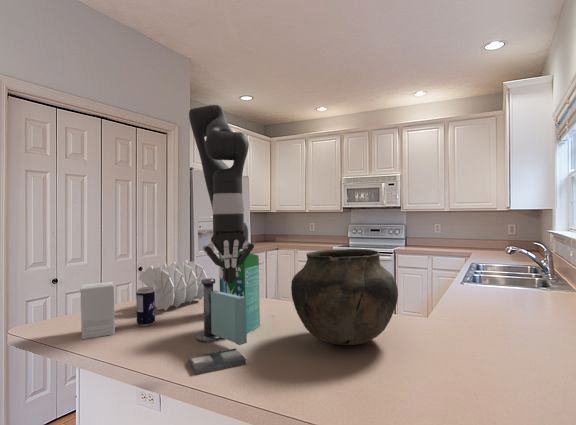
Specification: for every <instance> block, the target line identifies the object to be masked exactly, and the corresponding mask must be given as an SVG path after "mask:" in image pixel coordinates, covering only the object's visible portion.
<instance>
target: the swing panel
mask: <svg viewBox="0 0 576 425" xmlns="http://www.w3.org/2000/svg"><path fill="white" fill-rule="evenodd" d="M211 334H214V335H216V336H219V337H221V339H225V340H227V341H229V342H231V343H235V345H237V346H242V345H245V344H247V343H248V342H247V341H248V340H247V337H248V335H247V334H248V333H247V332H246V297H243V296H236V295H232V294H228V293H223V292H220V290H219V291H218V290H213V291H211Z"/></svg>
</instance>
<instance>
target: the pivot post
mask: <svg viewBox="0 0 576 425" xmlns="http://www.w3.org/2000/svg"><path fill="white" fill-rule="evenodd" d="M215 283H216V279H215V278H212V277H211V278H208V279H202V280H201V284H203V294H204V296H203V332H200V333H199V334H197V336H196V341H197V342H199V343H200V342H202V343H213V342H217V341H219V340H221V339H222V338H221V337H219V336H216V335H214V334H211V291H214V284H215Z"/></svg>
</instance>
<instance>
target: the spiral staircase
mask: <svg viewBox="0 0 576 425" xmlns="http://www.w3.org/2000/svg"><path fill="white" fill-rule="evenodd" d="M202 279H209V278H208V276H207V274H206V271H205V270H204V267H203V266H202V265H200V264H198V263H197V261H194V260H193V261H188V260H187V259H185V260H184V261H183V262H177V263H176V261H173V262H171V264H170V265H167V263H163V264H162V265H161V266H159V267H157V266H155V267H154V266H153V265H149V267H147V268H146V269H145V270H144V269H141V272H140V274H139V277H138V280H139V281H140V282H141V283H143V285H145V287H153V289H154V291H155V308H156V311H158V310H164V311H168V309H169V308H170V307H173V306H174V308H178V307H179V306H180V305H181V304H185V303H187V302H189V303H192V302H193V300H194V301H195V300H197V299H198V301H201V300H202V298H204V294H203V284H201V280H202Z"/></svg>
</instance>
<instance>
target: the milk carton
mask: <svg viewBox="0 0 576 425" xmlns="http://www.w3.org/2000/svg"><path fill="white" fill-rule="evenodd" d="M242 250H243V249H240V250H239V251H238V256H239V255H240V253H241V252H242ZM238 256H237V258H238ZM218 258H219V259H220V260H221V261H222V259H221V254H220V252H219V251H218ZM259 261H260V260H259V255H257V254H254V253H251V252H250V254H249V255H248V257H247V258H246V259H245V261H244V262H243V264H241V265H238V266H237V267H236V279H235V281H234V283H229V284H227V283H226V281H224V280H223V268H222V267H221V266H218V267H219V292H223V293H228V294H232V295H236V296H243V297H246V332H247V334H248V333H250V332H251V331H253V330H255V329H257V328H259V327H260V326H261V320H260V319H261V318H260V317H261V315H260V314H261V313H260V312H261V311H260V310H261V309H260V265H259V264H260V262H259Z"/></svg>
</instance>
